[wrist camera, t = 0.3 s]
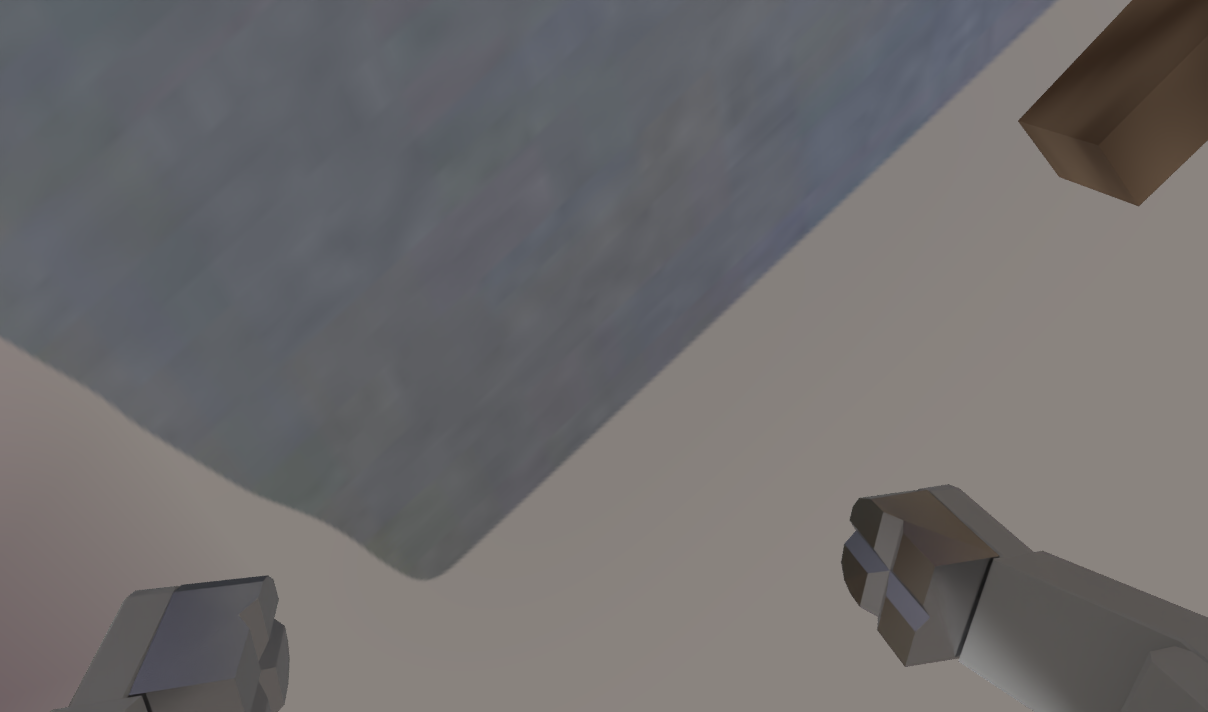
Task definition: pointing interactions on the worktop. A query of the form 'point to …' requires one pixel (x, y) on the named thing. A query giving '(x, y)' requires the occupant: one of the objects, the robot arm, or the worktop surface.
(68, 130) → the worktop surface
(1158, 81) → the block
